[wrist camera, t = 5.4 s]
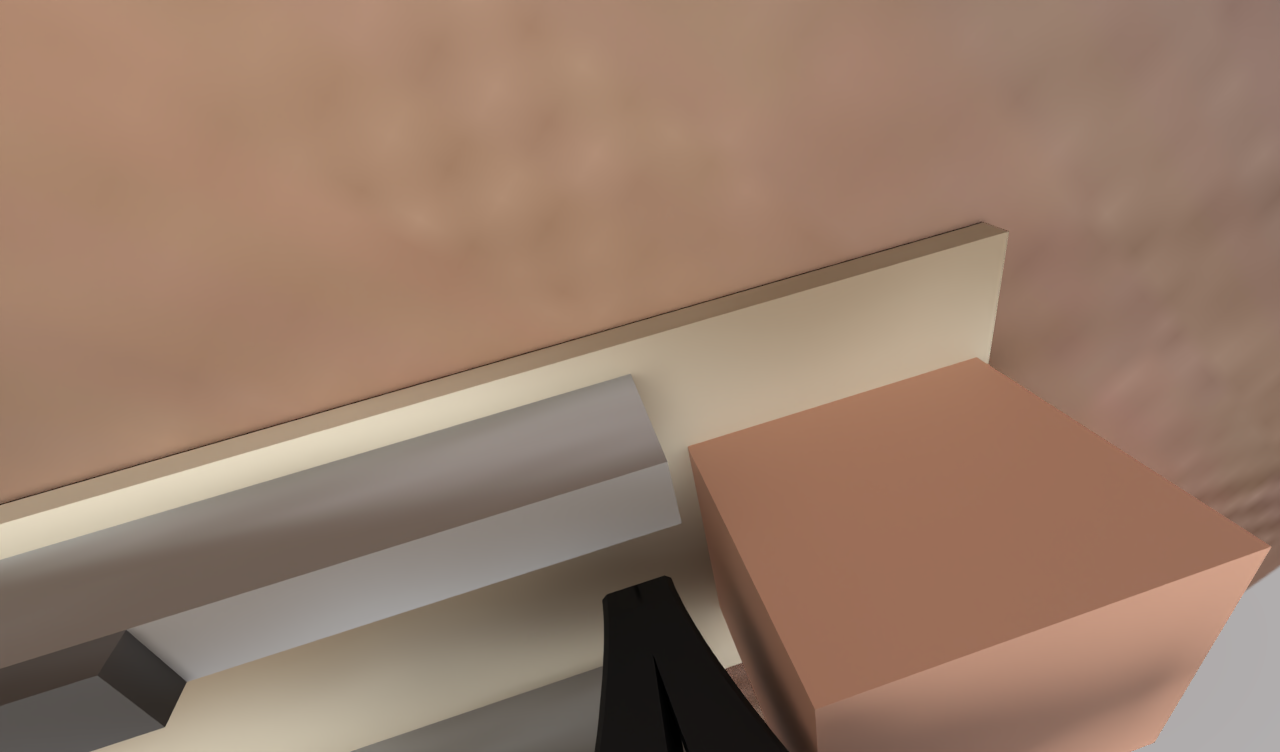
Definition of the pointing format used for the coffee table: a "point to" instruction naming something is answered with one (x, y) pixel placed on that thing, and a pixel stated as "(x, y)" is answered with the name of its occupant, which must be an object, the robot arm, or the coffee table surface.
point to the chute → (440, 531)
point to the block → (961, 572)
